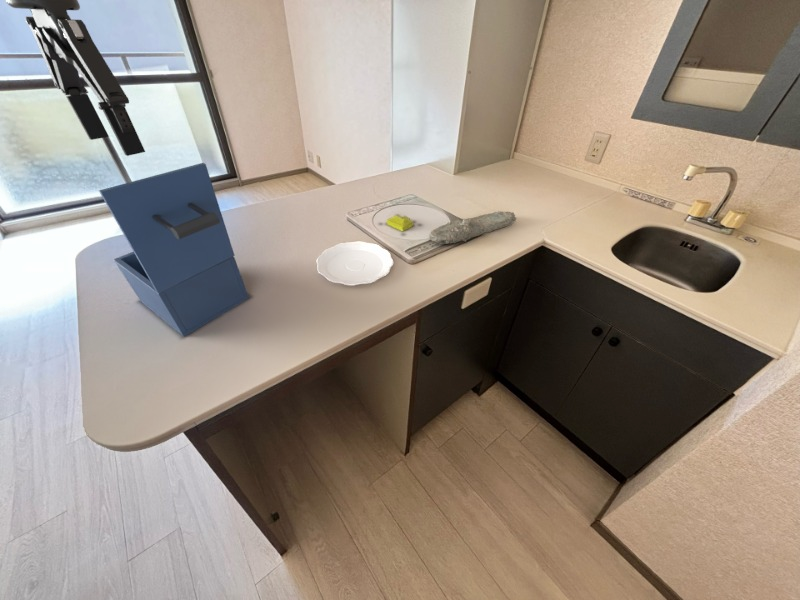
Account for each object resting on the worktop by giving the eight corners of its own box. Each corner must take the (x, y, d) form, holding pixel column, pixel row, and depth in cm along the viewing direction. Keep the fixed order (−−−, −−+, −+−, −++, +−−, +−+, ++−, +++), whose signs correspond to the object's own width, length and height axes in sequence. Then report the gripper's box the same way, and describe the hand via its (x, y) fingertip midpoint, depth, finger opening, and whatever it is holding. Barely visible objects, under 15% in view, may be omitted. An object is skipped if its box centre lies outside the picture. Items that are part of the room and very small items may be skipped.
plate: (360, 238, 102) (360, 234, 101) (408, 267, 91) (408, 262, 90) (302, 264, 90) (301, 259, 89) (348, 300, 79) (348, 295, 78)
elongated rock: (521, 229, 112) (500, 218, 119) (525, 214, 109) (503, 204, 116) (441, 250, 97) (422, 237, 103) (443, 234, 94) (423, 221, 100)
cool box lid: (98, 190, 47) (128, 211, 44) (203, 162, 57) (234, 177, 54) (155, 291, 61) (182, 312, 58) (232, 254, 71) (258, 270, 68)
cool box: (140, 301, 77) (113, 259, 69) (205, 270, 87) (187, 230, 79) (184, 337, 69) (158, 293, 61) (249, 298, 79) (234, 256, 71)
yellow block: (380, 224, 109) (380, 216, 107) (398, 215, 115) (398, 207, 113) (403, 234, 104) (403, 226, 103) (420, 225, 110) (421, 217, 108)
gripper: (102, -32, 39) (177, 155, 53) (31, -26, 49) (109, 128, 63) (19, -41, 34) (126, 167, 48) (-40, -32, 44) (61, 136, 58)
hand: (116, 145), depth 55 cm, fingers open, 13 cm apart
